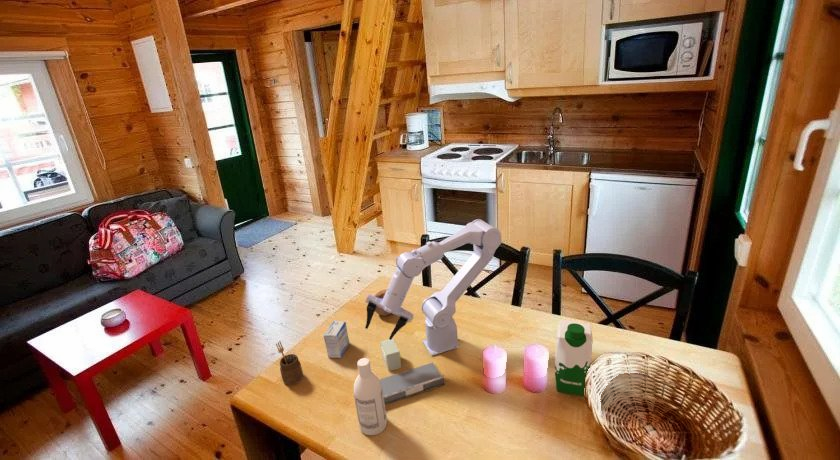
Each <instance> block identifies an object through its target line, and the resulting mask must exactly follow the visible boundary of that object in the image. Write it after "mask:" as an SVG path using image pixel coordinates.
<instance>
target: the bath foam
mask: <svg viewBox="0 0 840 460" xmlns="http://www.w3.org/2000/svg"><path fill="white" fill-rule="evenodd" d="M356 365H357V370H358V375H357V376H356V379H355V381H354V384H353V391H352V392H353V397H354V403H355V409H356V415H357V419H358V425H359V429H360V431H361V432H362V433H363V434H365V435H367V436H376V435H378V434H381V432H384V430H385V429H386V427H387V423H388V419H387V411H386V405H385V404H384V397H383V390H382V385H381V382H380V380H379V379H380V378H379V377H378V375H376V374H375V373H374V372H373V371H372V367H371V361H370V359H369V358H367V357H362V358H360V359H358V361H357V363H356Z"/></svg>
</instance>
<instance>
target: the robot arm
mask: <svg viewBox="0 0 840 460" xmlns="http://www.w3.org/2000/svg"><path fill="white" fill-rule="evenodd" d="M502 240H503V239H502V233H501V230H500V229H498V228H496V227H494V226H492V225H490V224H489V223H487V222H485V221H484V220H483V219H480V218H477V219H474V220H472V222H468V223H467V224H466V225H465V226H464V227H463V228H461V229H460V230H458V231H456V232H454V233H453V234H452V235H450V236H448V237H446V238H444V239H443V240H441V241H439V242H438V241H434V240H433V241H429V240H428V241H427V242H425V245H422V246H421V247H419V248H417V249H412V250H411V252H410V251H404V252H402V253H401V254H399V256H397V257H396V258H395V265H396V268H395V270H394V273H393V275H392V277H391V280H390V282H389V284H388V287H387V289H386V290H387V291H386V293H385V295H384V298H383V299H381V298H378V297H374V296H375V295H371V294H368V295H367V296H366V299H365V301H364V302H365V304H367V305H366V324H365V327H364V329H366V330H368V328H369V326H370V325H371V323H372V318H373V316H374V314H375V313H376V312H375V310H376V307H379V308H381V309H384V310H385V311H387V312H389V313H391V314H393V315H394V316H397V317H398V320H397V322H396V324H395V326H394V328H393V330H392V331H391V334H390V336H389V338H388V339H390V340H391V339H392V338H393V339H394V336H395V335H396V334H397V333H398V331H400V330H401V329H403V328H404V327H405V326H406V325H407V323H411V322H412V320H413V318H414V314H413V313H412V312H410V311H408V310H407V309H404V308H403V307H402V306H403V303H404V301H405V299H406V296H407V294H408V292H409V289H410V287H411V285H412V283H413V280H414V279H415V277H418V276H419V275H420V274H421V273H422V272H423V270H425V269H426V267H429V266H431V265H432V264H434V263H436V262H438V261H440V260H442V259H443V257H444V255H445V253H448V252H450V251H452V250H455V249H457V248H459V247H462V246H464V245H466V244H470V245H472V246H473V253H472V254H471V255H470V257H469V258H468V259H467V260H466V261H465V263H464V264H463V265H462V266H461V267H460V269H459V270H457V272H456V273H455V274H454V276H453V277H452V278H451V279H450V280H449V281H448V282H447V284H446V285H445V287H444V288H442V290H439V291H435V292H433V294H431V295H429V296H428V297H427V298H425V299H424V300H423V302H422V303H421V306H420V308H421V312H422V314H424V315H425V320H424V322H425V323H424V325H425V331H426V332H425V335H426V336H425V337H426V339H423V340H422V343H423V345H424V347H425V348H426V349H427V351H428V352H429V354H430V356H435V355H439V354H442V353H445V352H447V351H452V350H455V349H459V347H460V345H459V342H458V341H459V339H458V326H457V324H456V323H457V322H456V321H455V319H454V318H453V317H454V316H455V313H456V312H457V311H456V303H457V301H458V300H459V299H460V298H461V296H462V295H463V294H464V293H465V291H467V289H468V288H469V287H470V286H471V285H472V283H473V282H474V281H475V280H476V279H477V278H478V276H479V275H480V274H481V273H482V272H483V270H485V268H486V267H487V265H488V264H489V263H491V261H492V260H493V257H494V255H495V253H496V250H497V249H498V248H499V247H500V245H501V244H502V243H503V241H502Z"/></svg>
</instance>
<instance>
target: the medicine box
mask: <svg viewBox="0 0 840 460" xmlns="http://www.w3.org/2000/svg"><path fill="white" fill-rule="evenodd" d="M323 339H324V345H325V348H326V353H327V357H328V358H334V359H341V358H342V357H343V355H344V353H345V351H346V349H347V348H348V346H349V344H350V338H349V333H348V328H347V322H346V321H341V320H333V321H332V323H331V325H330V326H329V328H327V330H326V332H325V333H324V335H323Z"/></svg>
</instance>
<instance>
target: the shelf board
mask: <svg viewBox="0 0 840 460" xmlns="http://www.w3.org/2000/svg"><path fill="white" fill-rule="evenodd" d="M379 380H380V382H381V385H382V390H383V397H384V404H385V406H386V405H388V404H389V405H390V404H392V403H394V402H397V401H401V400H403V399H406V398H409V397H413V396H415V395H418V394H420V393H423V392H428V391H430V390H433V389H435V388H439V387H442V386H445V385H446V381H445V380H446V379H445V376H444V375H442V376H441V374H440V372H439V371H438V369H437V368H436V365H435V364H434V362H430V363H426V364H423V365H420V366H417V367H415V368H411V369H408V370H405V371H402V372H399V373H394V374H392V375H389V376H386V377H384V378H379Z"/></svg>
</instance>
